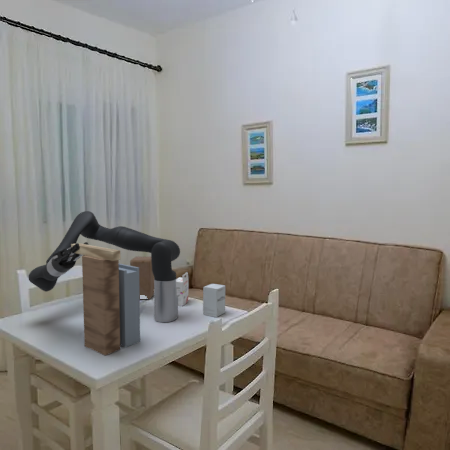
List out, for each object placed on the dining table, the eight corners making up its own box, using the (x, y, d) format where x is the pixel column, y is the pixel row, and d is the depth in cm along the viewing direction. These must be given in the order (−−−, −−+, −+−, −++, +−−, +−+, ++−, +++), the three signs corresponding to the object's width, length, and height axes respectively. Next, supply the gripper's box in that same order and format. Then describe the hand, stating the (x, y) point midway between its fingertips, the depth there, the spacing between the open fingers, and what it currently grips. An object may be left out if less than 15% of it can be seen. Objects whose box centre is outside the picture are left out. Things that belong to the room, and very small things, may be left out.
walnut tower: (99, 340, 139) (97, 253, 135) (120, 349, 131) (118, 257, 128) (84, 346, 134) (81, 256, 131) (105, 355, 127) (103, 260, 123)
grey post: (119, 333, 146) (117, 263, 143) (140, 341, 138) (139, 267, 136) (104, 338, 140) (103, 265, 138) (125, 347, 133) (124, 270, 130)
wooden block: (150, 300, 188) (150, 260, 186) (130, 299, 188) (129, 259, 186) (154, 294, 198) (154, 256, 196) (135, 294, 198) (134, 256, 196)
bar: (78, 251, 140) (78, 243, 139) (120, 259, 125) (120, 250, 125) (71, 252, 137) (71, 244, 137) (112, 260, 123) (112, 251, 122)
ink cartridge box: (179, 300, 189) (178, 270, 187) (188, 300, 188) (188, 271, 186) (173, 305, 180) (173, 274, 179) (183, 306, 179) (183, 275, 178)
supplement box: (216, 317, 164) (216, 289, 163) (202, 314, 168) (202, 286, 167) (225, 313, 170) (226, 285, 169) (211, 310, 174) (212, 282, 173)
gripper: (39, 257, 140) (61, 237, 130) (74, 252, 151) (96, 233, 141) (45, 276, 139) (67, 257, 129) (80, 269, 150) (103, 252, 140)
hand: (82, 245), depth 135 cm, fingers closed on bar, 3 cm apart
